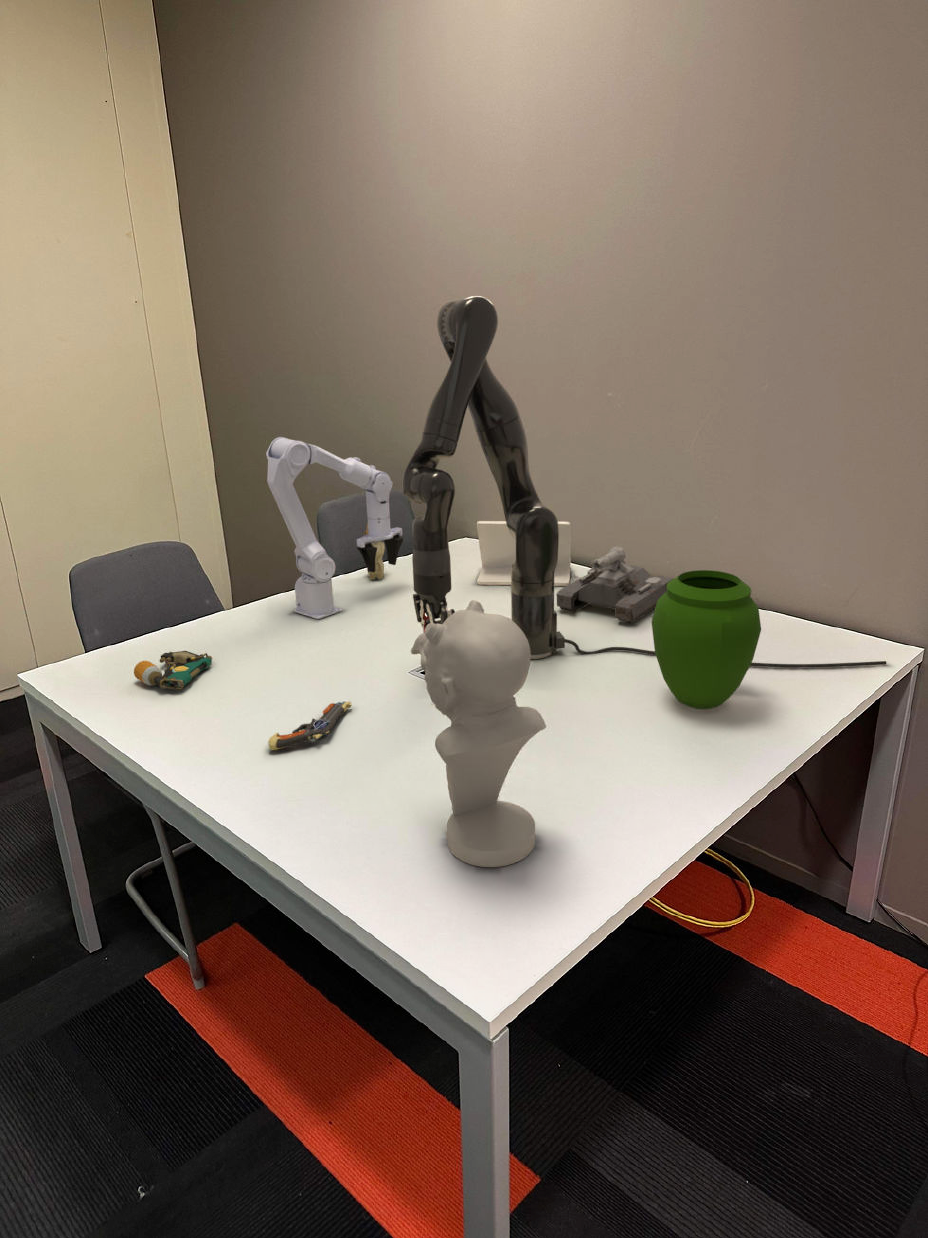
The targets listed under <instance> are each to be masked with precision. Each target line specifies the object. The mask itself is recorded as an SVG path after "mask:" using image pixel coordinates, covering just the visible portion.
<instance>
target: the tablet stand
mask: <svg viewBox="0 0 928 1238" xmlns="http://www.w3.org/2000/svg"><path fill="white" fill-rule="evenodd" d="M558 526H559V544H558V561H557V566H556V568H555V572H554V587H556V586H557V587H566V586H567V585H569V584H570V580H571V579H570V578H571V565H572V564H571V560H572V558H571V522H569V521H558ZM476 531H477V537H478V544H479V551H480V557H481V558H480V559H481V570H480V573H479V575H478V577H477V580H476V581H477V582H476V584H478V585H484V586H485V585H486V586H487V585H489V586H490V585H491V586H511V566H512V564H513V563H514V562H515V558H516V539H515V538H514V537H513V536H512V535H511V534H510V532H509V530H508V527H507V524H506V520H505V521H504V520H477V522H476Z"/></svg>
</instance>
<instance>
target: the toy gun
mask: <svg viewBox="0 0 928 1238" xmlns="http://www.w3.org/2000/svg"><path fill="white" fill-rule="evenodd" d="M352 706H353V705H352V701H344V700H343V701H342V702H341V701H338V702H333V703H332V702H331V703H329V704H328V705H327V707H326V708H324V710H323V711H322V715H321V717H320V718H318V719H316V718H313V717H312V719H311V722H309V723H302V724H300V725H299V726H298V727H296V728H295V729H294V730H292V732H291V733H289V734H280V733H279V732H276V733H274V734H273V735H271V736H270V737H269V739H268V741H267V742H268V747H269V750H270V751H277V750H280V749H284V748H288V747H291V746H295V745H298V744H303V743H305V742H308V741H311V740H314V739H315V740H318V739H319V738H321V737H323V736H324V735H327V734H329V732H330V731H332V729H333V728H334V727H335V725H336V722H337V721H338V719H339V718H341V716H342V715H343V714H344V713H345V712H346V711H347V710H348V709H351V708H352Z"/></svg>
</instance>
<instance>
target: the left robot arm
mask: <svg viewBox="0 0 928 1238" xmlns="http://www.w3.org/2000/svg"><path fill="white" fill-rule="evenodd" d="M265 455H266V458H267V475H266V476H267V479H266V481H267V485H268V487H269V490H270V492H271V494H272V496H273V498H274V501H275V503H276V505H277V507H278V510H279V512H280V514H281V516H282V519H283V521H284V523H285V525H286V527H287V530H288V532H289V534H290V536H291V539H292V541H293V543H294V545H295V548H294V550H293V554H294V555H295V565H296V568H297V569H298V571H299V572H300V573H301V576H299V577H298V579H297V580H296V581H295V585H294V595H295V605H296V608H295V609H294V613H297V614H300V615H303V616H306V617H309V618H312V619H315V620H321V619H324V618H326V617H328V616H332V615H335V614H337V613H339V612H342V610H343V609H342V608H340V607H336V606H335V604H334V592H333V579H332V578H333V576H334V575H335V573H336V563H335V561H334V559H333V558H332V557H331V556H329V555H328V554H327V551H326V549H325V548H324V547H323V546H322V544H321V543H320V542H319V541H318V539H317V537H316V535H315V533H314V530H313V528H312V526H311V523H310V521H309V518H308V516H307V514H306V512H305V510H304V508H303V505H302V503H301V501H300V498H299V495H298V493H297V491H296V489H295V486H294V482H295V480H296V478H297V477H298V476H299V475H300V473H301V472H302V471H303V470H304V469H305V467H306V466H307V465H308V464H309V465H313V464H315V463H317V464H318V465H321V466H324V467H326V468H329V469H331V470H333V471H336V472H338V475H339V477H340V478H341V480H344V481H346V482H348V483H350V484H352V485H355V486H357V487H359V488H361V489H362V490H363V491H365V498H366V517H367V524H368V532H369V533H368V534H367V535H365V536H364V535H362V536H361V537H359V538H357V539H356V549H357V551H358V552H359V553H360V555H361V557H362V559H363V560H364V561H363V562H364V563H365V567H366V570H368V571H370V572H375V557H376V552H377V548H376V547H373V545H372V544H373V543H376V542H379V541H380V542H383V543H384V545H385V549H386V557H387V563H388V565H392V566H395V565H397V561H398V555H399V552H400V548H401V546H402V544H403V542H404V537H402V536H403V528H402V527H392V528H391V513H390V492H391V490H392V488H393V484H394V482H393V481H392V480H391V476H390V475H389V474H388V473H387V472H385V471H383V470H378V469H376V466H375V465H372V464H370V465H368V464H366V463H364V462H362V460H361V458H359V457H356V456H354V457H347V458H341V457H339V456H338V455H336V454H333V453H332V452H330V451H327V450H325V449H323V448H322V447H320V446H318V445H314V444H311V443H306V442H304V441H302V440H294V439H290V438H287V437H284V436H278V437H276V438H274V439H273V440H272V441H271V443H270V444H269V446H268V448H267V450H266V452H265ZM368 571H367V572H368Z"/></svg>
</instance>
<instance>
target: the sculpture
mask: <svg viewBox="0 0 928 1238" xmlns="http://www.w3.org/2000/svg"><path fill="white" fill-rule="evenodd" d="M368 533H369V532H368V523H367V524H366V530H365V531H364V532H363V536H365V535H367V534H368ZM372 545H373V547H376V548H377V552H376V557H375V572H370V571H368V570H367V569H366V570H367V574H368V576H369V579H370V580H375V579H376V578H377V579H378V580H382V579H383V578H384V573H385V563H384V561H383V556H384V554H385V549H386V545H385V542H384V541H379V542H376V543H373V544H372Z"/></svg>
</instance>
